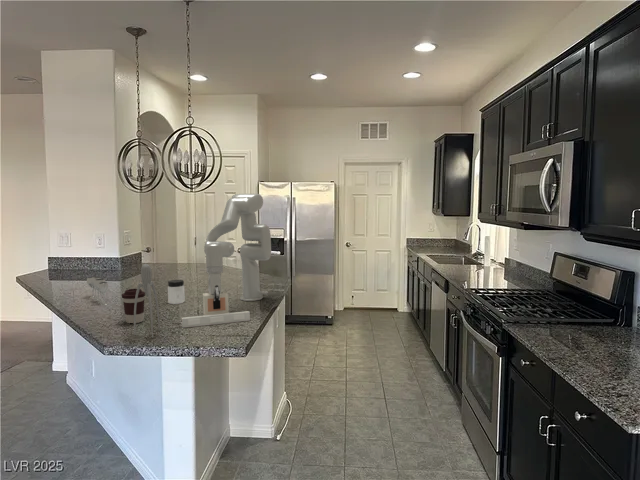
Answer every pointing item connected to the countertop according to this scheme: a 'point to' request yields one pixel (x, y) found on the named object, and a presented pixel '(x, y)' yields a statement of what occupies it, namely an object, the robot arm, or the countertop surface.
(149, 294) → the juicer
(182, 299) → the jar
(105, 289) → the goblet set
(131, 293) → the coffee cup
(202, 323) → the rail
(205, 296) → the box
